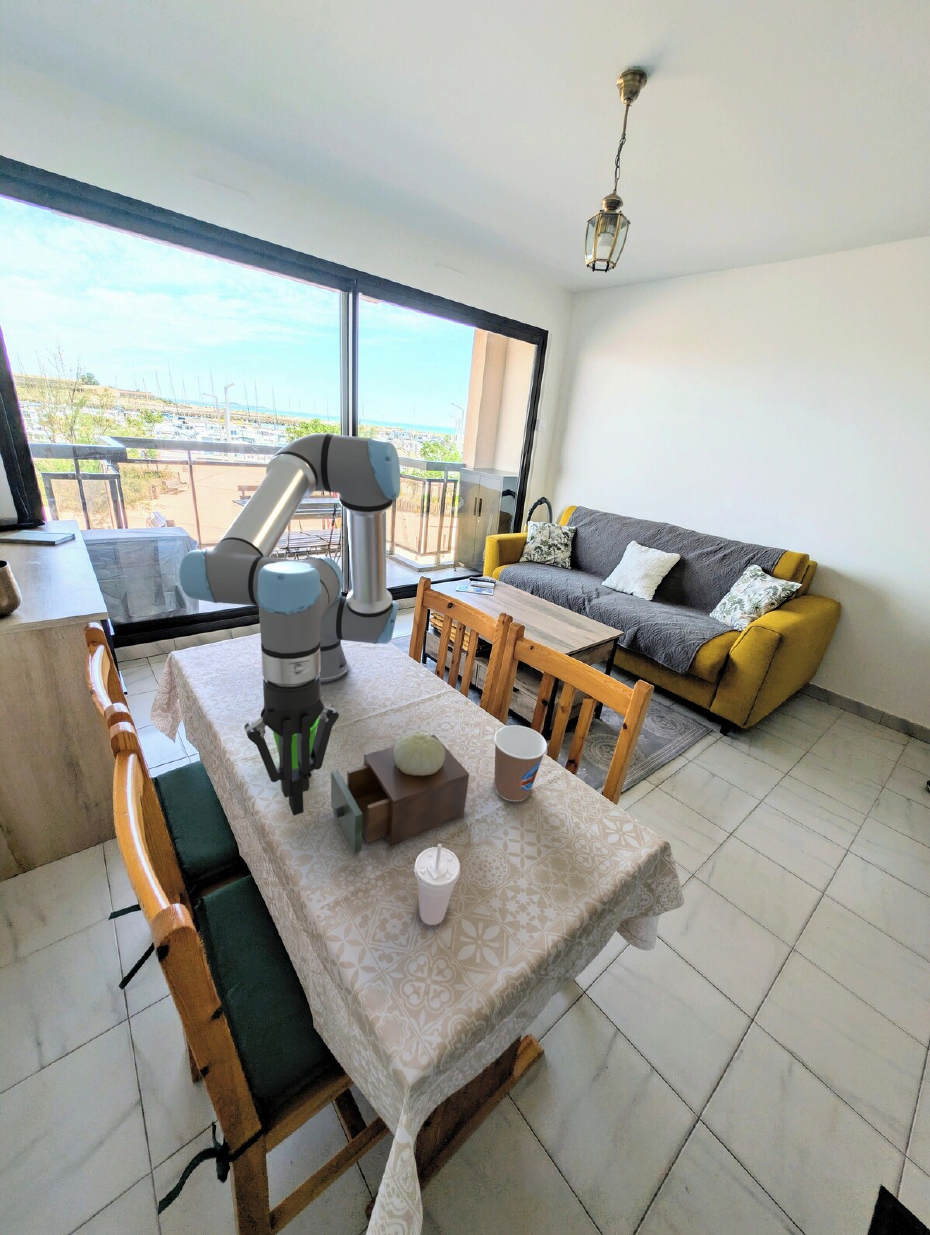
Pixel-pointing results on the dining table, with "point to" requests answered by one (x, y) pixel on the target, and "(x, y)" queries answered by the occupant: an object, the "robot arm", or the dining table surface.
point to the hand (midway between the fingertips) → (296, 808)
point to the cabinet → (419, 794)
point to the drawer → (360, 806)
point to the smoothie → (435, 882)
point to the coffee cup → (517, 761)
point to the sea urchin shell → (419, 754)
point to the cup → (294, 743)
